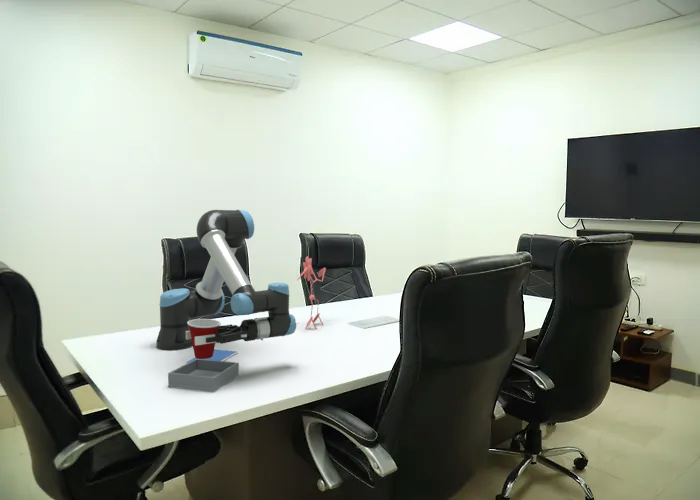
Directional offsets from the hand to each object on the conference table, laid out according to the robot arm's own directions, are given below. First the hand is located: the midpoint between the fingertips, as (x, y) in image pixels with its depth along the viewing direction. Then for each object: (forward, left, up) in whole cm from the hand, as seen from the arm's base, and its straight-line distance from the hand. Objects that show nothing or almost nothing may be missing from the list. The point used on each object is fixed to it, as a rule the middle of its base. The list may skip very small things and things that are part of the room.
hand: (190, 338), depth 167 cm
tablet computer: (-8, +28, -16) cm, 33 cm away
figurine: (+9, +90, -15) cm, 91 cm away
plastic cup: (+3, +4, -7) cm, 9 cm away
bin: (+3, +4, -15) cm, 16 cm away
